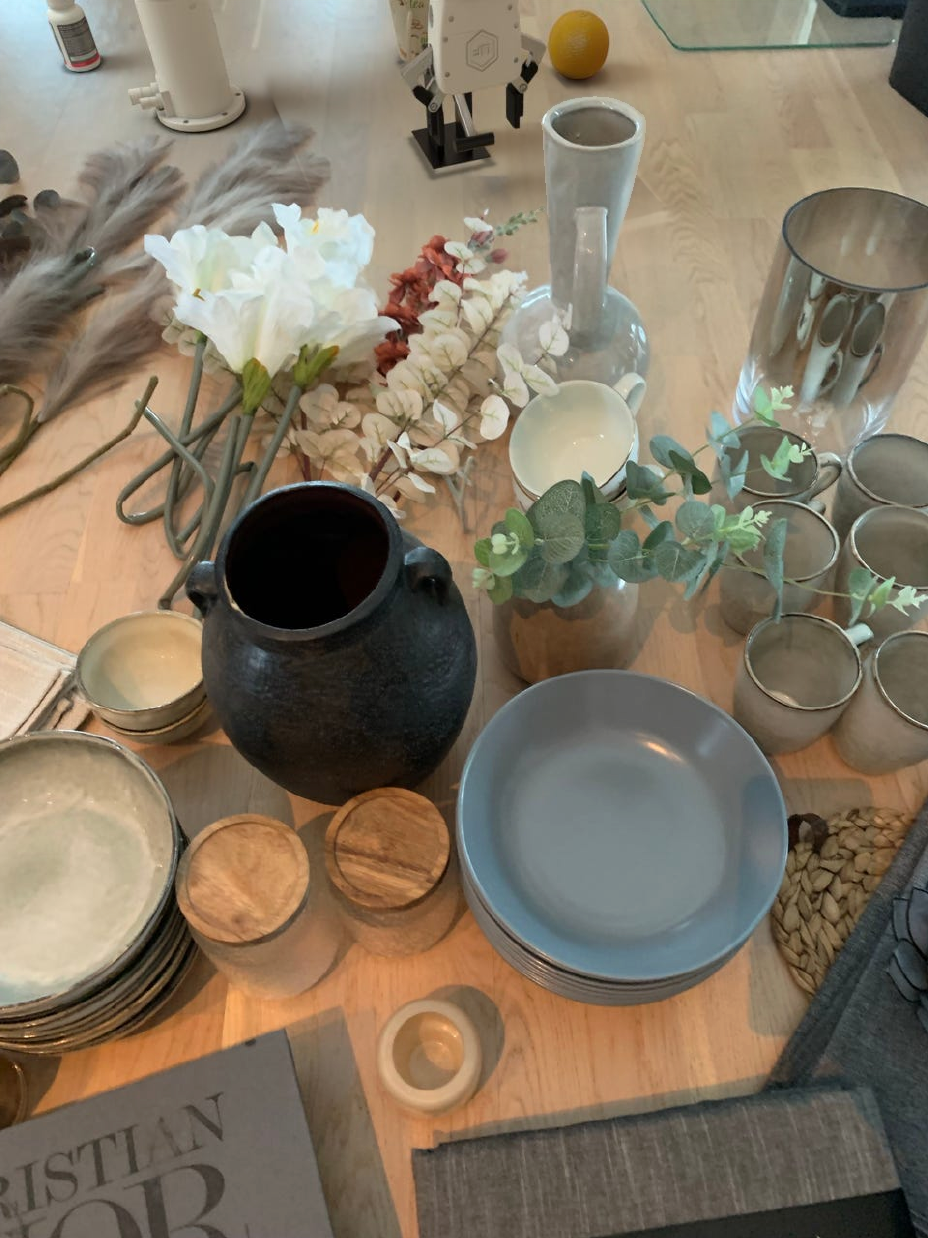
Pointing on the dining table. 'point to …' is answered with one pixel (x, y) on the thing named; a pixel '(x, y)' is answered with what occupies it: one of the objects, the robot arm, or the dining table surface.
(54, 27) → the pill bottle
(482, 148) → the black lever stand
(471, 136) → the lever
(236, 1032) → the dining table surface
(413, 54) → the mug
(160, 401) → the dining table surface
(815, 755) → the dining table surface
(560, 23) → the fruit
